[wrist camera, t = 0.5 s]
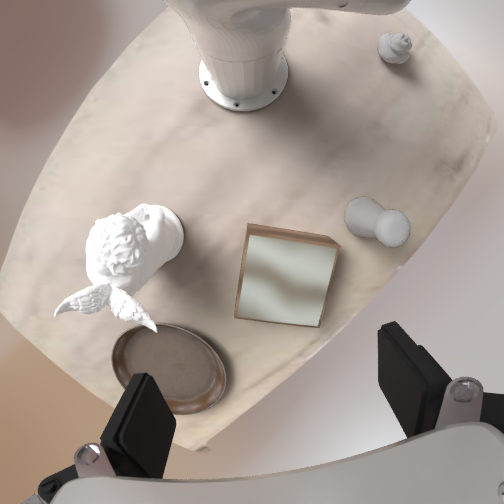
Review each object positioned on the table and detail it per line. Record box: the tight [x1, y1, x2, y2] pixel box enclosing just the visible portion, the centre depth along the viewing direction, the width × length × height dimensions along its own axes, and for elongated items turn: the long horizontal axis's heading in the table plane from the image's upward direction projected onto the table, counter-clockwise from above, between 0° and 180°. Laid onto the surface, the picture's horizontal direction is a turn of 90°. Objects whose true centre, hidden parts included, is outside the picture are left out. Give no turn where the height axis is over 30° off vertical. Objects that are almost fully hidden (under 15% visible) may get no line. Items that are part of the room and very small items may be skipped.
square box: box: [234, 223, 340, 328], centre depth 41 cm, size 12×12×6 cm
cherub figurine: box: [54, 204, 184, 333], centre depth 33 cm, size 12×12×22 cm
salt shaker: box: [345, 196, 410, 248], centre depth 36 cm, size 6×6×13 cm
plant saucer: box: [111, 323, 226, 415], centre depth 47 cm, size 21×21×3 cm
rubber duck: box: [378, 33, 412, 64], centre depth 31 cm, size 5×7×8 cm
